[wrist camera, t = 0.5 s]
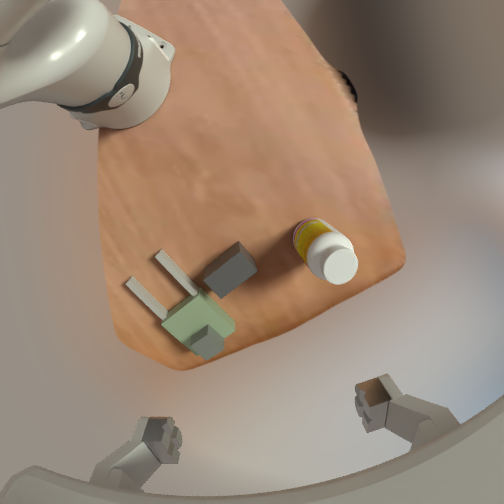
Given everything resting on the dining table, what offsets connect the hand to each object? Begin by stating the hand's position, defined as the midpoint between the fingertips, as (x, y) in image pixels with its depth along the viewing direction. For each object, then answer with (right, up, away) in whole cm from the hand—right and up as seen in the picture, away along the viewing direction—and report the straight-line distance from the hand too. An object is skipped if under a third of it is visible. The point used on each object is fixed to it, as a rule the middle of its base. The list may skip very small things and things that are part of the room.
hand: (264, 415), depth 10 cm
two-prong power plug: (-13, -2, +36) cm, 38 cm away
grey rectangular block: (-4, +5, +35) cm, 35 cm away
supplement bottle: (+9, +9, +35) cm, 37 cm away
